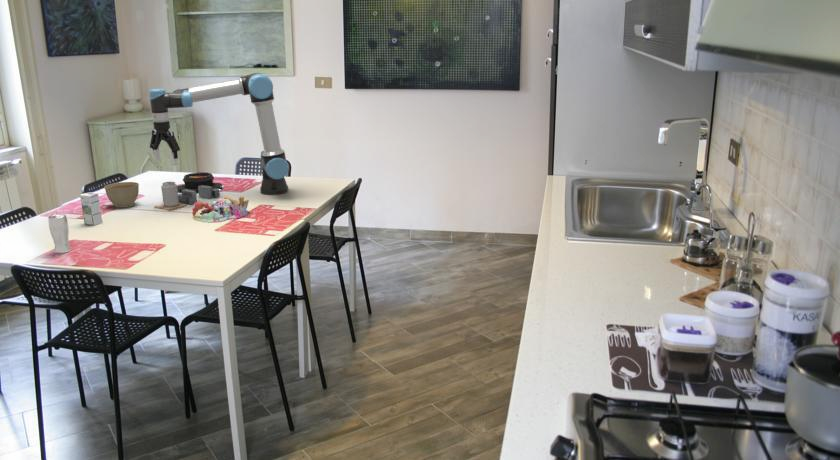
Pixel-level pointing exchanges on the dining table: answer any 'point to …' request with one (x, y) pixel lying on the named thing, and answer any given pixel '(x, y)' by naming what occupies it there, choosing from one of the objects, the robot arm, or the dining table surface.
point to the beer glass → (59, 232)
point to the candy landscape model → (220, 210)
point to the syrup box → (91, 208)
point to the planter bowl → (122, 193)
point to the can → (170, 194)
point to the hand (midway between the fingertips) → (166, 163)
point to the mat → (171, 207)
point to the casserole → (198, 181)
